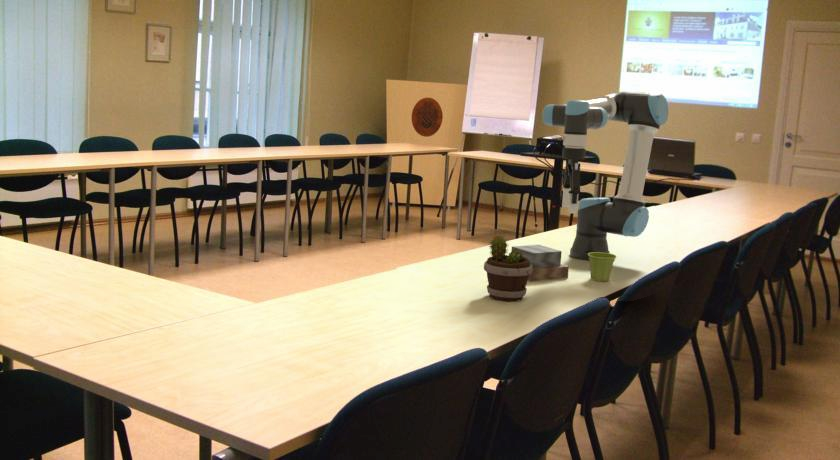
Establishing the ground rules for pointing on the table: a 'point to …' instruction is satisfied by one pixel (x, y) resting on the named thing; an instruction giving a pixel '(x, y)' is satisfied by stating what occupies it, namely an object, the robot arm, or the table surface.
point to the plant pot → (601, 265)
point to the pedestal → (543, 262)
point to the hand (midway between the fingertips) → (569, 210)
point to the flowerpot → (506, 272)
